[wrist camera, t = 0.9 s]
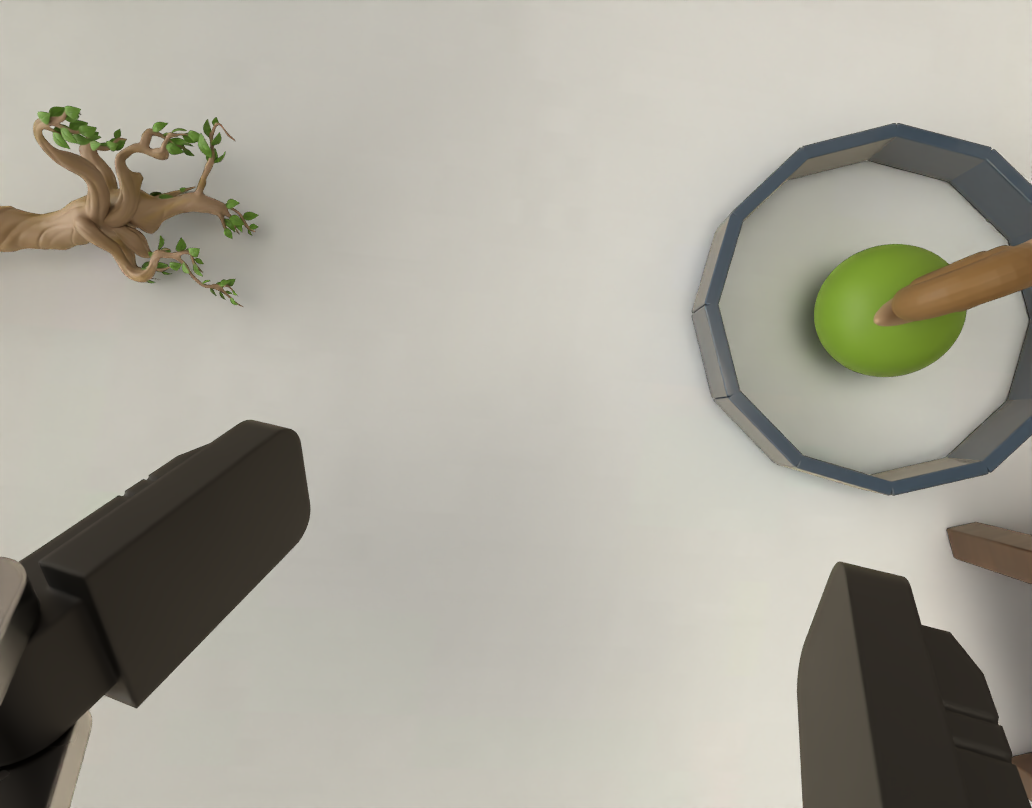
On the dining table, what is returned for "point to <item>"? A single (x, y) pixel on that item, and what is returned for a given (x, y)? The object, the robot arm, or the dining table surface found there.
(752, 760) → the dining table surface
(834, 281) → the snail figurine
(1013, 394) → the faceted ring wall
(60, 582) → the robot arm
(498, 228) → the dining table surface
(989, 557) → the chair
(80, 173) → the miniature bonsai tree
